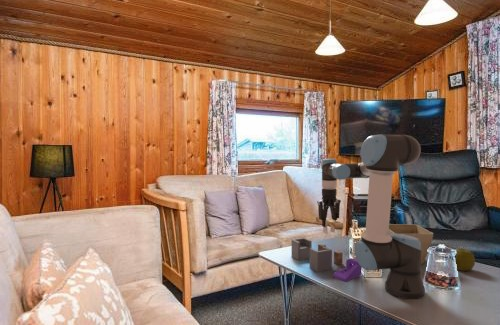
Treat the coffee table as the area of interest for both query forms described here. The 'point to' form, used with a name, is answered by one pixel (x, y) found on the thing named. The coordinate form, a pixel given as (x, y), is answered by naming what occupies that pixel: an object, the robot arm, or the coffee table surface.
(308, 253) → the end caps
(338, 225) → the slat
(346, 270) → the bracket
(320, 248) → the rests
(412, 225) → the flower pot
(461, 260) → the apple
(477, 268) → the coffee table surface
